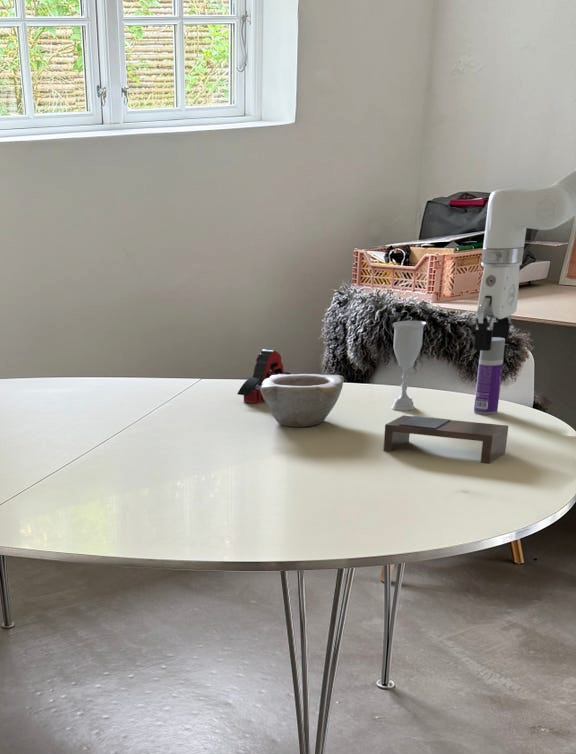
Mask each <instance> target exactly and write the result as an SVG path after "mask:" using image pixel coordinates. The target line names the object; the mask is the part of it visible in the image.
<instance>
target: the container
mask: <svg viewBox="0 0 576 754" xmlns="http://www.w3.org/2000/svg"><path fill="white" fill-rule="evenodd" d="M505 345H506V343H505V338H499V337H492V342H491V349H490V350H489V351H483V350H479V360H478V368H477V375H476V376H477V377H476V386H475V397H474V405H473V413H474V414H476V415H494V414H497V413H498V409H499V400H500V393H501V385H502V376H503V366H504V357H505V356H504V355H505V347H506V346H505Z"/></svg>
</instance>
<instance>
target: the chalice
mask: <svg viewBox="0 0 576 754" xmlns="http://www.w3.org/2000/svg"><path fill="white" fill-rule="evenodd" d="M426 324H427V322H426V321H423V320H401V321H394V322H393V323H392V326H393V331H394V333H393V346H392V348H393V351H394V356H395V358H396V361H397V364H398V366H399V367H400V368H403V373H402V376H401V379H402V383H401V384H400V387H401V391H402V392H401V393H400V396H396V398H395V399H394V402H393V403H392V404H393V405H391V408H390V409H391V410H394V411H400V412H403V411H404V412H405V411H412V410H414V409H415V408H416V406H415V405H414V402H413V398H412V397H411V396H408V394H407V393H408V392H407V389H408V387H409V386H410V385H409V384H408V379H409V378H410V375H409V368H411V367H413V366H414V364H415V362H416V360H417V359H418V356H419V355H420V352H421V350H422V347H423V338H424V337H423V335H424V327H425V326H426Z"/></svg>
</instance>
